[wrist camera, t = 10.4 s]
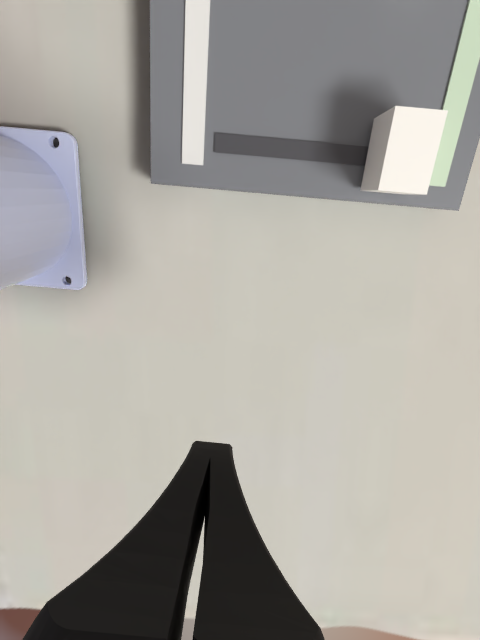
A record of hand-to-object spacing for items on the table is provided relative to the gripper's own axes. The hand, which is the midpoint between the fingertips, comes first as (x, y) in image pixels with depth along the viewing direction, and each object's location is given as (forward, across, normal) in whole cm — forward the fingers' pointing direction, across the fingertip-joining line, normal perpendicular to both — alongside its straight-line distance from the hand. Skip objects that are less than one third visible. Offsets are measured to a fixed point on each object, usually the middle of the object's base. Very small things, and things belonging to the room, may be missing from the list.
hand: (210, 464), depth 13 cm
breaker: (+8, -6, -12) cm, 15 cm away
